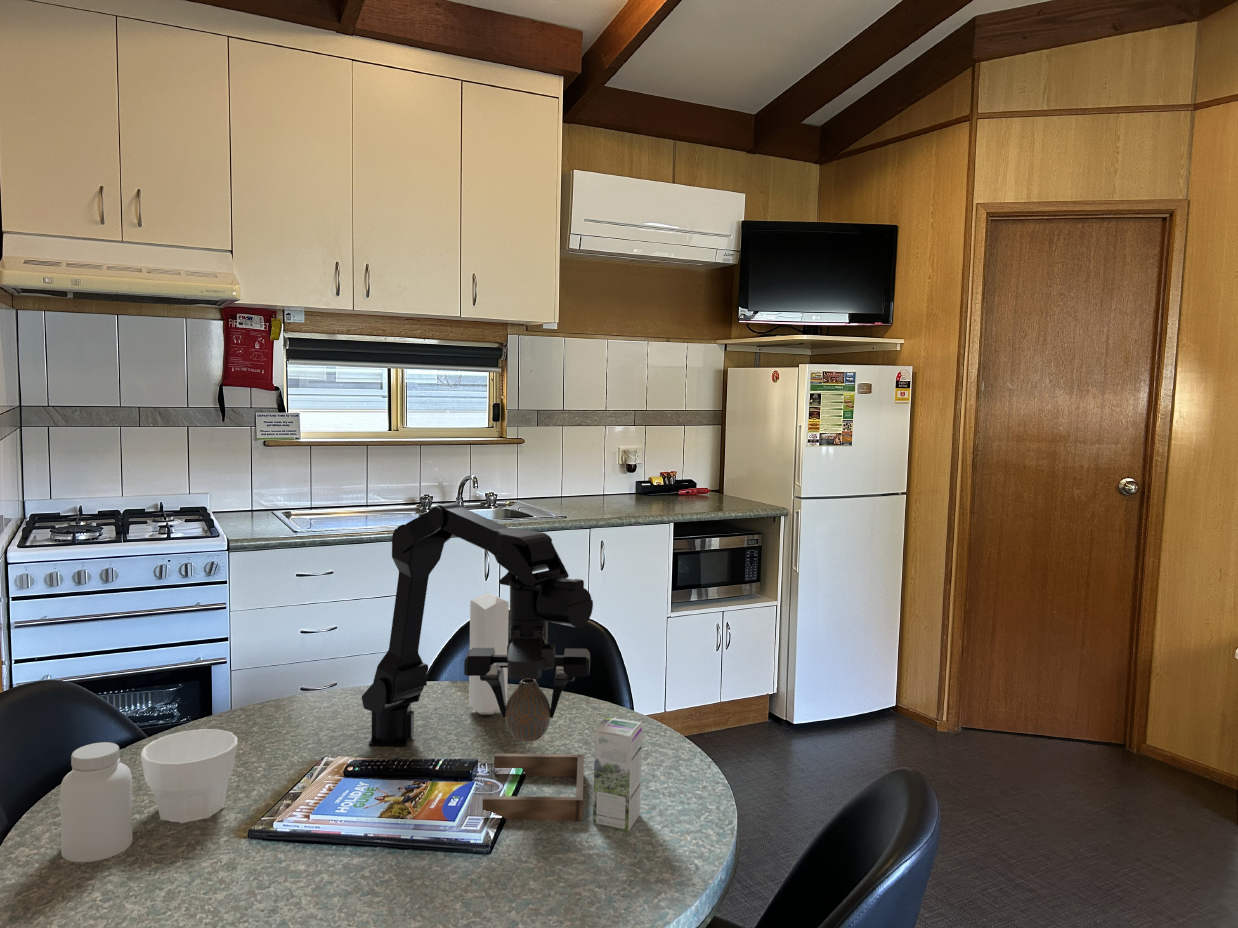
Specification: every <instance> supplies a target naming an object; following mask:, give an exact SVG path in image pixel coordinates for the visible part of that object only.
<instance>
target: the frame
mask: <svg viewBox="0 0 1238 928" xmlns="http://www.w3.org/2000/svg"><path fill="white" fill-rule="evenodd" d="M584 760H585V754H581V753H580V754H578V753H577V754H573V753H571V754H569V753H568V754H567V753H564V754H563V753H561V754H558V753H494V756H493V768H494V767H495V768H522V769H523V770H524V772H525V777H526V776H527V777H528V776H530V777H533V776H534V777H555V778H557V777H559V778H576V793H575V794H576V796H525V795H524V796H521V795H520V796H519V795H518V796H517V795H515V796H514V795H512V796H511V795H508V796H507V795H506V796H502V795H498V796H497V795H492V796H491V795H483V796H482V811H483V810H486V811H491V812H493V813H496V814H497V815H500V816H503V817H504V818H505V819H504V820H519V821H520V820H525V821H526V820H527V821H528V820H529V821H551V822H552V821H554V822H555V821H556V822H583V821H584V819H583V816H584V815H583V811H584V809H583V808H584V773H585V771H584V770H585V769H584V768H585V767H584V766H585V763H584V762H585V761H584Z"/></svg>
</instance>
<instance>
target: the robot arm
mask: <svg viewBox="0 0 1238 928" xmlns="http://www.w3.org/2000/svg"><path fill="white" fill-rule="evenodd" d="M392 532H393V533H392V537H391V558H392V560H393V562H394V565H395V567H396V568H397V570H398V578H397V583H396V584H397V586H396V591H395V592H396V593H395V594H396V595H395V600H394V607H393V609H394V610H393V614H392V622H391V631H390V637H389V646H388V650H387V652H386V653H385V654H384V656H383V657H382V659H381V660H380V662H379V663H378V664H377V667H376V671H375V675H374V678H373V683H371V685H370V686H369V687H368V689H367V690H366V691H365V692H364V693H363V694H362V695H361V702H362V707H363V709H364V710H367V711H369V712H371V738H370V739H369V741H368V746H371V747H373V746H375V747H376V746H378V747H383V746H384V747H385V746H387V747H406V746H407V745H408V743H409V741H410V740H411V739H412V737H413V735H414V733H415V711H414V710H412V704H413V703H417V702H419V701H420V699H421V694H422V692H423V691H424V687H425V686H427V685H428V681H427V677H428V672H429V665H428V664H427V663H424V662H423V660H422V657H421V656H420V654H419V647H420V641H421V632H422V627H423V618H424V613H425V605H426V596H427V591H428V583H429V576H430V574H431V572H432V571H433V570H434V568H435V567H436V565H438V563H439V562H440V560H441V556H442V553H443V549H444V547H445V544H446V543H448V541H449V540H451V539H452V538H454V537H457V538H458V539H459V538H460V539H461V540H463V541H465V542H467V543H470V544H472V545H474V546H476V547H479V548H481V549H482V550H485V551H487V552H489V553H490V554H492V555H493V556H494V558H495V561H496V562H497V564H498V565H500V566H501V567H503V568H504V569H505V570H507V573H506V574H505V575H504V576H502V577H501V578H500V579H499V582H498V583H499V584H500V585H503V586H508V587H509V639H508V646H507V655H495V649H494V648H472V649H471V650H470V649H469V651H468V652H467V654H466V656H465V658H464V662H463V664H464V665H463V666H464V667H463V671H464V672H463V675H465V676H467V677H468V676H480V680H481V681H487V683H488V684H489V685H490V686H491V688H492V690H493V692H494V694H495V697H496V700H497V703H498V706H499V708H500V709H499V711H500V714H501V716H502V718H503V719H505V710H506V705H507V702H506V695H505V683H504V671H503V668H508V678H509V679H511V680H518V679H527V678H530V679H535V680H537V679H540V678H541V677H542V670H545V671H546V670H549V669H555V675H554V682H553V690H552V695H551V702H550V719H553V718H554V716H555V712H556V710H557V707H558V703H559V701H560V697H561V695H562V692H563V691H564V688H565V686H566V684H567V683H568V682H573V681H575V678H576V677H580V678H582V677H583V678H584V677H585V678H586V677H589V676H590V669H591V668H590V667H591V653H590V651H589V650H588V649H587V648H569V647H568V648H564V653H563V655H562V654H561V655H560V654H556V647H555V646H556V645H555V643H548V625H549V624H548V623H549V622H550V623H553V624H559V625H563V626H568V627H572V628H576V629H577V628H582V627H584V626H585V625H586V624H587V623H588V622H589V620H590V619H591V617H592V613H593V610H594V609H593V608H594V601H593V599H592V596H591V593H590V591H588V589H586V588H585V581H584V580H583V579H579V578H575V579H572V578H569V576H570V575H569V573H568V571H567V569H566V567H565V565H564V563H563V561H562V559H561V557H560V555H559V553H558V552H557V550H556V548H555V545H554V544H553V539H552V538H551V536H550V535H549V534H548V533H545V532H541V531H538V530H537V531H536V530H531V529H520V528H512V527H511V528H510V527H508V526H505V525H503V524H501V523H499V522H496V521H494V520H493V519H490V518H487V517H485V516H483V515H481V514H478V513H476V512H474V511H471V510H469V509H467V508H464V506H463V505H461V504H458V503H455V502H452V503H445V504H437V505H435V506H434V507H432V508H431V509H429V510H428V511H427V512H426V513H423V514H422V515H419V516H418V517H416V518H414V519H412V520H410V521H409V522H406V523H404V524H400V525H399V526H397V528H394V530H393V531H392ZM547 569H548V570H547ZM543 570H544V571H543ZM538 571H540V572H538Z"/></svg>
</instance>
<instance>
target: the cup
mask: <svg viewBox="0 0 1238 928" xmlns="http://www.w3.org/2000/svg"><path fill="white" fill-rule="evenodd" d="M238 740H239V738H238V737H237V736H236V735H235V734H233V732H231V731H227V730H222V729H211V728H209V729H208V728H201V729H192V730H191V729H190V730H184V731H179V732H176V733H175V732H174V733H171V734H166V735H164V736H162V737H160V738H158V739H157V738H156V739H154V740H152V741H151V742H150V743H148V744H147V745H145V746H144V747H143V748H142V750H141V753H140V759H141V766H142V770H143V775H144V781H145V783H146V785H147V786H148V787H149V788H150V789H151V792H153V794H154V798H155V802H156V807H157V811H158V815H159V819H160V821H168V822H172V823H173V822H174V823H179V824H185V823H188V822H194V821H199V820H204V819H209V818H210V817H211V816H213V815H215V814H216V813H218V812H219V811H220V810H222V809H224V807H225V802H226V799H227V798H226V795H227V791H228V786H229V780H230V778H231V777H232V774H233V772H234V770H235V769H234V768H235V762H236V761H235V760H236V756H237V749H238Z"/></svg>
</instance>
